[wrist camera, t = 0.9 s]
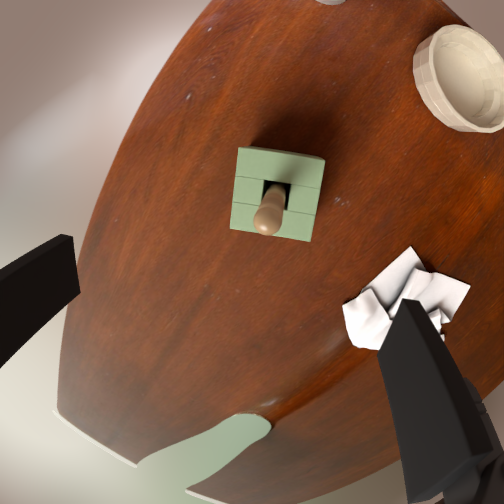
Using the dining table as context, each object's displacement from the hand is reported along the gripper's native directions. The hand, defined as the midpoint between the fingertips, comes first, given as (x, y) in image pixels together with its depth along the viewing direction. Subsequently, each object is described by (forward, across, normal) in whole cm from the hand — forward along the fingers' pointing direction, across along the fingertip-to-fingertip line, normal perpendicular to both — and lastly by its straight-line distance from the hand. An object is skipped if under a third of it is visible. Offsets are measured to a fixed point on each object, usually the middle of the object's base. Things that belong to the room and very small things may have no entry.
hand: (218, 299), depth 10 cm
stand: (+28, +1, 0) cm, 28 cm away
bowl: (+28, +22, +20) cm, 41 cm away
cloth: (+28, +25, -15) cm, 40 cm away
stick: (+28, +1, 0) cm, 28 cm away
